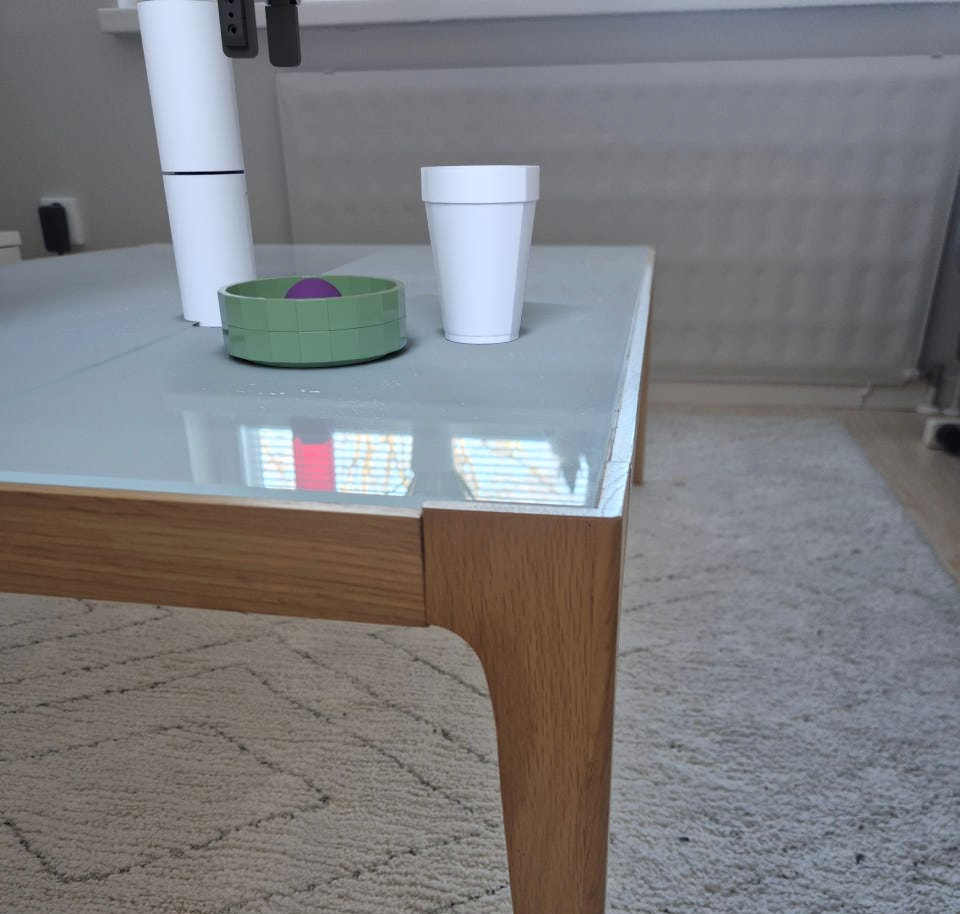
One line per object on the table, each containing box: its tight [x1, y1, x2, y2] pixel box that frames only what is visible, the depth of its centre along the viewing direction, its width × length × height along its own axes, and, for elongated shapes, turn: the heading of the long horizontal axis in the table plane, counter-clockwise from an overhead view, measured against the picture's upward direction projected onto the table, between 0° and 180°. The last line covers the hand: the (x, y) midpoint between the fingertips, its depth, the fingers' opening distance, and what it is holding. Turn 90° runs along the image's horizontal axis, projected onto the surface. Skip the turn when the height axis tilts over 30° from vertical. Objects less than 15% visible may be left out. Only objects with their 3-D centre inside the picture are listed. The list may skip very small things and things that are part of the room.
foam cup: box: [420, 164, 541, 345], centre depth 77 cm, size 10×9×13 cm
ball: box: [284, 278, 342, 299], centre depth 74 cm, size 5×5×5 cm
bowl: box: [217, 274, 408, 369], centre depth 74 cm, size 14×14×5 cm
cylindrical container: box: [136, 0, 258, 328], centre depth 84 cm, size 7×7×25 cm
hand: (264, 62), depth 65 cm, fingers open, 8 cm apart
